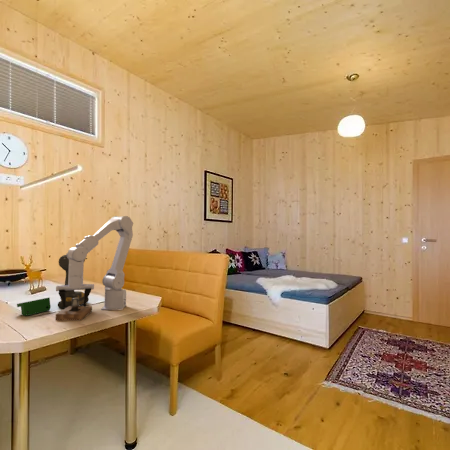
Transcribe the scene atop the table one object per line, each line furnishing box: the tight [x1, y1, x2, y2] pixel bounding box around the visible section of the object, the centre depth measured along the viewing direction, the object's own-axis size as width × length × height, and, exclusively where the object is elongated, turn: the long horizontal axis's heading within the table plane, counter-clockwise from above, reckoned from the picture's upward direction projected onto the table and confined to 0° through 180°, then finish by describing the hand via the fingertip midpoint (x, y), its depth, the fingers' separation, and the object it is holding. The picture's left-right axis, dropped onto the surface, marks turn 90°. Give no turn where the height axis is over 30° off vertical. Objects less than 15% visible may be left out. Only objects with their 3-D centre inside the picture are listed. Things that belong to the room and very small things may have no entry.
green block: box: [16, 296, 52, 317], centre depth 129 cm, size 12×6×9 cm, turn 147°
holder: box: [55, 305, 93, 321], centre depth 126 cm, size 10×12×2 cm
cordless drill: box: [57, 254, 89, 309], centre depth 145 cm, size 9×20×25 cm, turn 174°
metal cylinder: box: [71, 298, 79, 312], centre depth 126 cm, size 3×3×8 cm
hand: (74, 306), depth 126 cm, fingers open, 7 cm apart
